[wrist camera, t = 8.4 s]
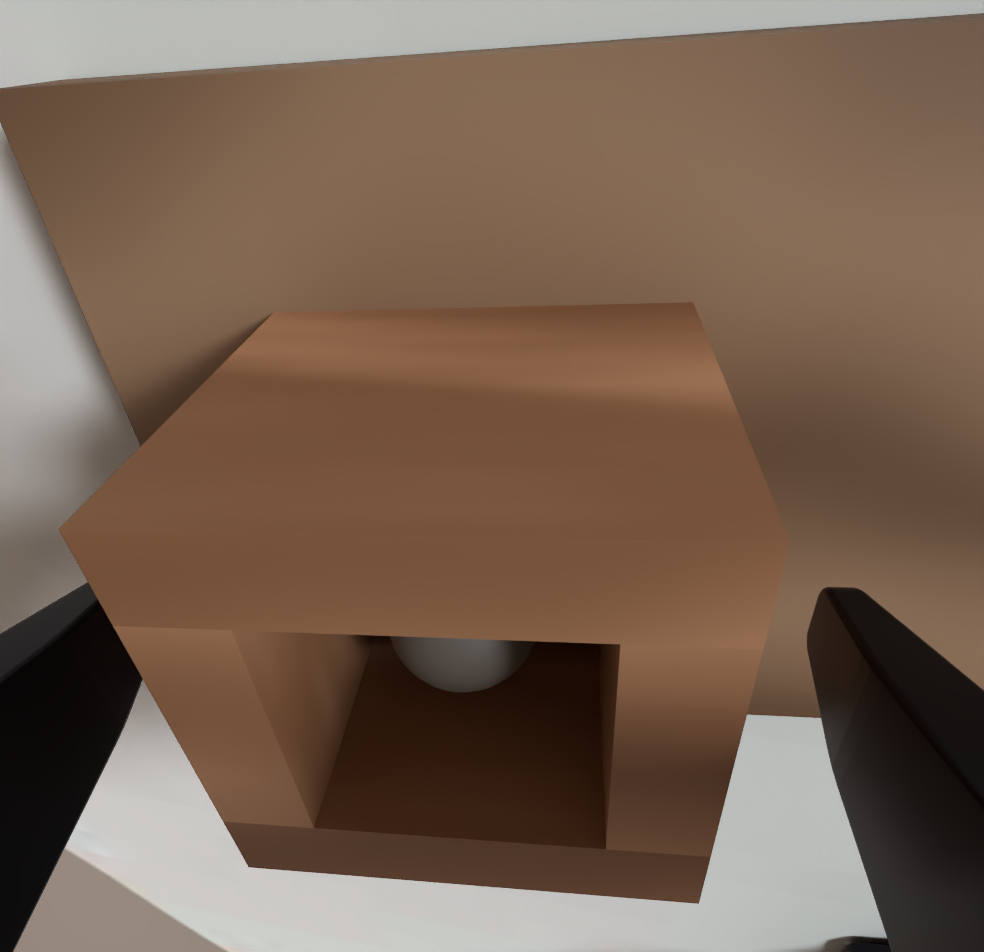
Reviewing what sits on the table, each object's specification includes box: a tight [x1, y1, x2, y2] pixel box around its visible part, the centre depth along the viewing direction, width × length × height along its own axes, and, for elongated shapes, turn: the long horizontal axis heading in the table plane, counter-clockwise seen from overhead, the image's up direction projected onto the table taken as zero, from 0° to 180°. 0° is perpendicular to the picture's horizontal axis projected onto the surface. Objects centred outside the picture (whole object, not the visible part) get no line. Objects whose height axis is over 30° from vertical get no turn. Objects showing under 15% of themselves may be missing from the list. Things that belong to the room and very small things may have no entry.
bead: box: [59, 302, 791, 904], centre depth 9 cm, size 6×6×5 cm
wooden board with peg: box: [0, 13, 984, 718], centre depth 10 cm, size 12×18×6 cm, turn 94°
